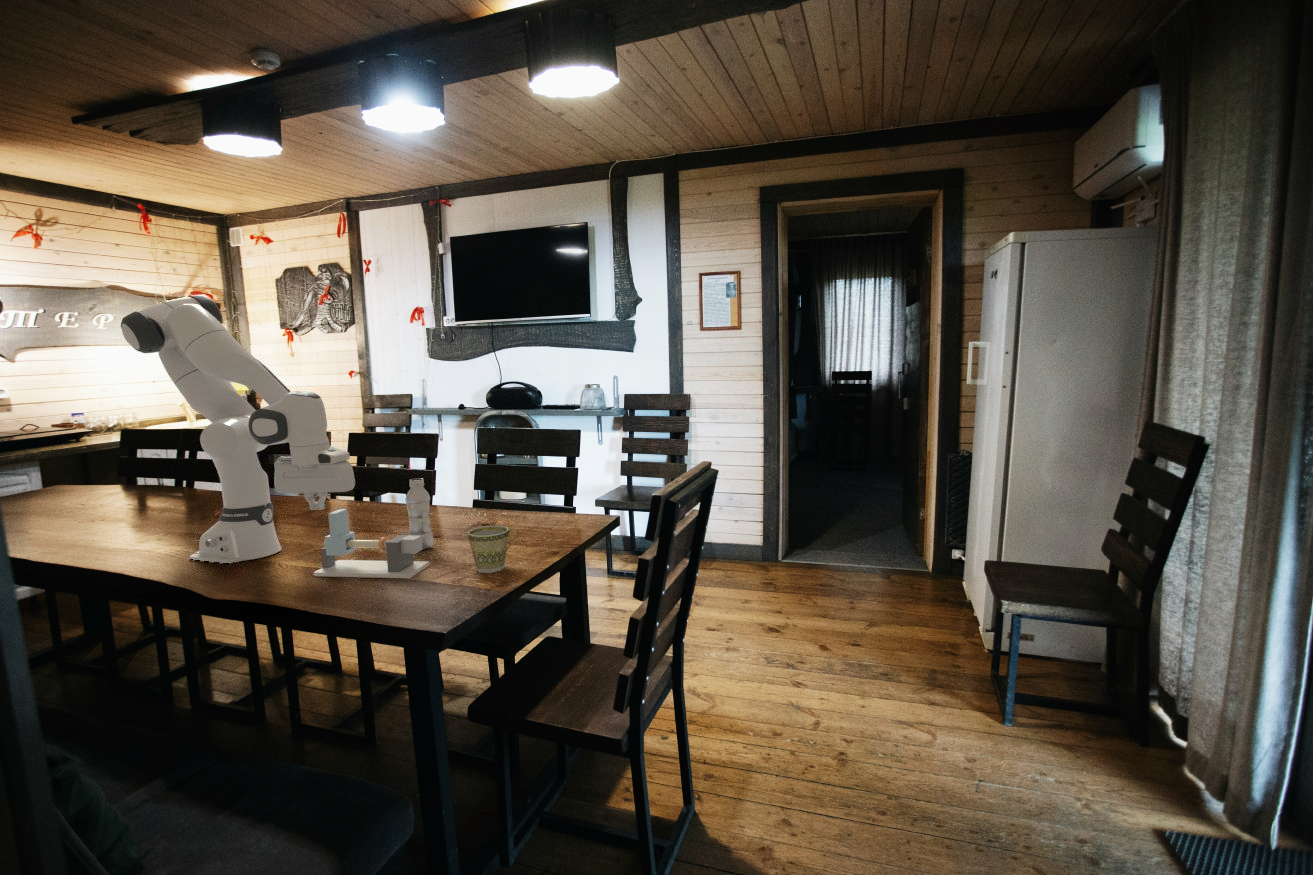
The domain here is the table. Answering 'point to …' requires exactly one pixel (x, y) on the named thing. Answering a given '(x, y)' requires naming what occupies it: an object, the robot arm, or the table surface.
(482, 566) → the ceramic cup
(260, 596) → the table surface
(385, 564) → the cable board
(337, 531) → the pale blue stacked blocks
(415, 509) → the plastic bottle
